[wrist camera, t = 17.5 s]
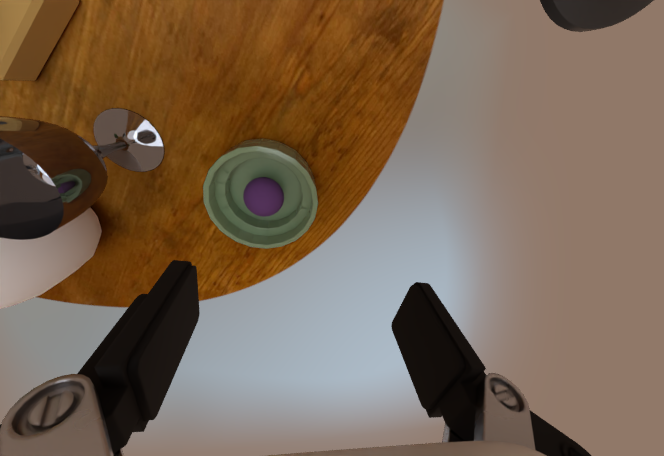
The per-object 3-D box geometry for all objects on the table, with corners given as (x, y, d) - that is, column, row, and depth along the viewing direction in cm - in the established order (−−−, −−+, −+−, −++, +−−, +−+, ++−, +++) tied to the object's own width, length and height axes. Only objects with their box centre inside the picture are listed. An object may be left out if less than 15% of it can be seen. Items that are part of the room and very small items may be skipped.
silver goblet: (171, 122, 27) (58, 151, 14) (165, 183, 31) (69, 252, 18) (87, 90, 25) (-137, 93, 12) (90, 161, 28) (-82, 221, 15)
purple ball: (287, 175, 31) (284, 189, 27) (283, 208, 34) (279, 226, 30) (249, 168, 31) (239, 181, 26) (247, 203, 33) (238, 220, 29)
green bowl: (323, 149, 31) (327, 159, 27) (306, 234, 37) (307, 253, 33) (215, 127, 28) (200, 134, 24) (216, 222, 34) (205, 242, 30)
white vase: (135, 210, 32) (44, 278, 20) (92, 267, 36) (-7, 353, 24) (10, 136, 26) (-216, 174, 15) (-27, 214, 30) (-232, 293, 18)
